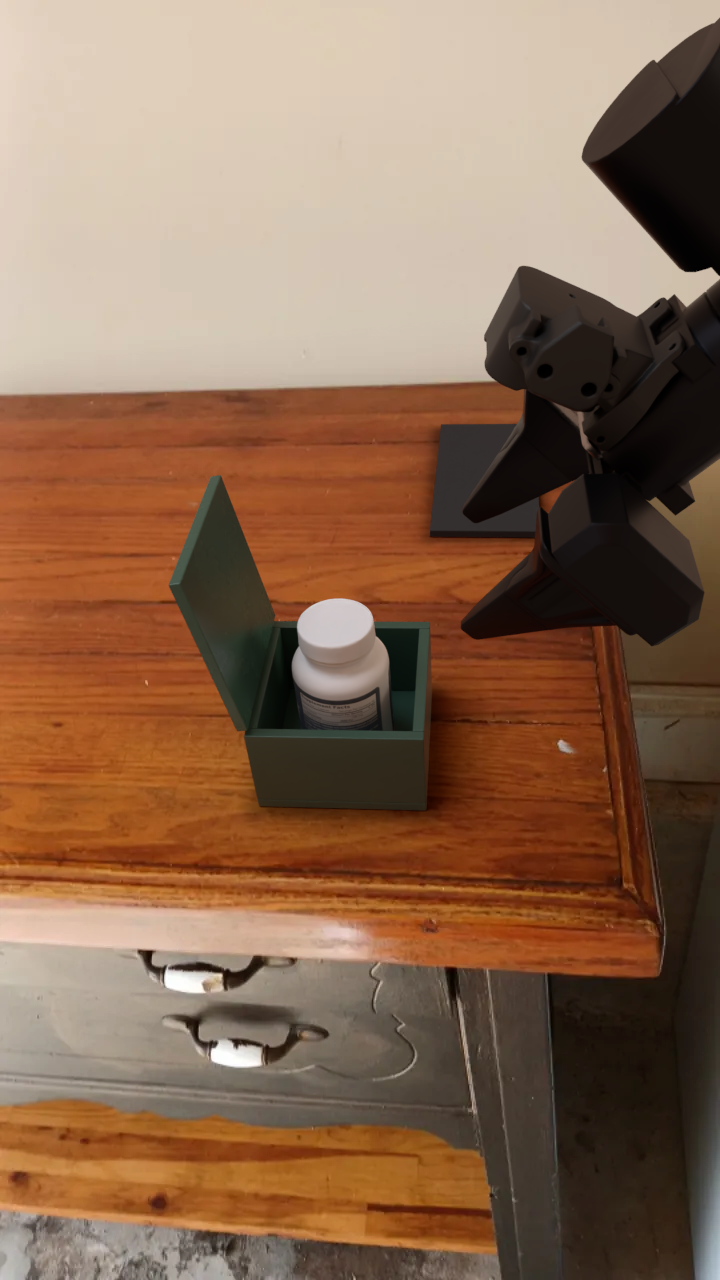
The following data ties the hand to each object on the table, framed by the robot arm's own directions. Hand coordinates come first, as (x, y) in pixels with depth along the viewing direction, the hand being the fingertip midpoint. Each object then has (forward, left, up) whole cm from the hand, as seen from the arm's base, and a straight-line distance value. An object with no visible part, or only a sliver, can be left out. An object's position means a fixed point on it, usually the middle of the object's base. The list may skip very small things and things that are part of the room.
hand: (467, 570), depth 46 cm
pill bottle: (+7, -1, -12) cm, 14 cm away
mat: (-6, -28, -13) cm, 31 cm away
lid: (+12, -2, -2) cm, 12 cm away
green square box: (+7, -1, -13) cm, 14 cm away
